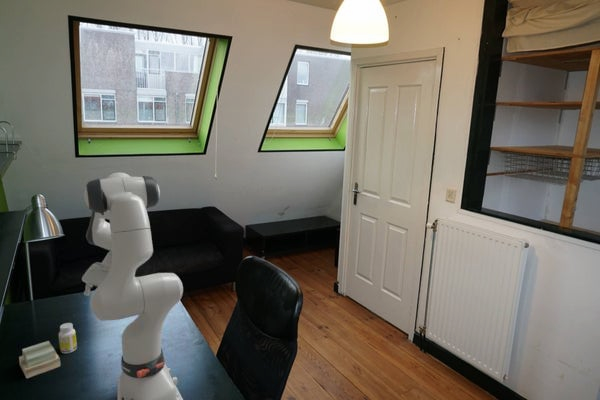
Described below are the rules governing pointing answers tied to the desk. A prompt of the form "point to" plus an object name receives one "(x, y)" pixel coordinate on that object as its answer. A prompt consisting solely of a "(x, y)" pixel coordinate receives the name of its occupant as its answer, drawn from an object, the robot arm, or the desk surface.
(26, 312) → the desk surface
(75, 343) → the supplement bottle
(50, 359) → the two-tone square platform
